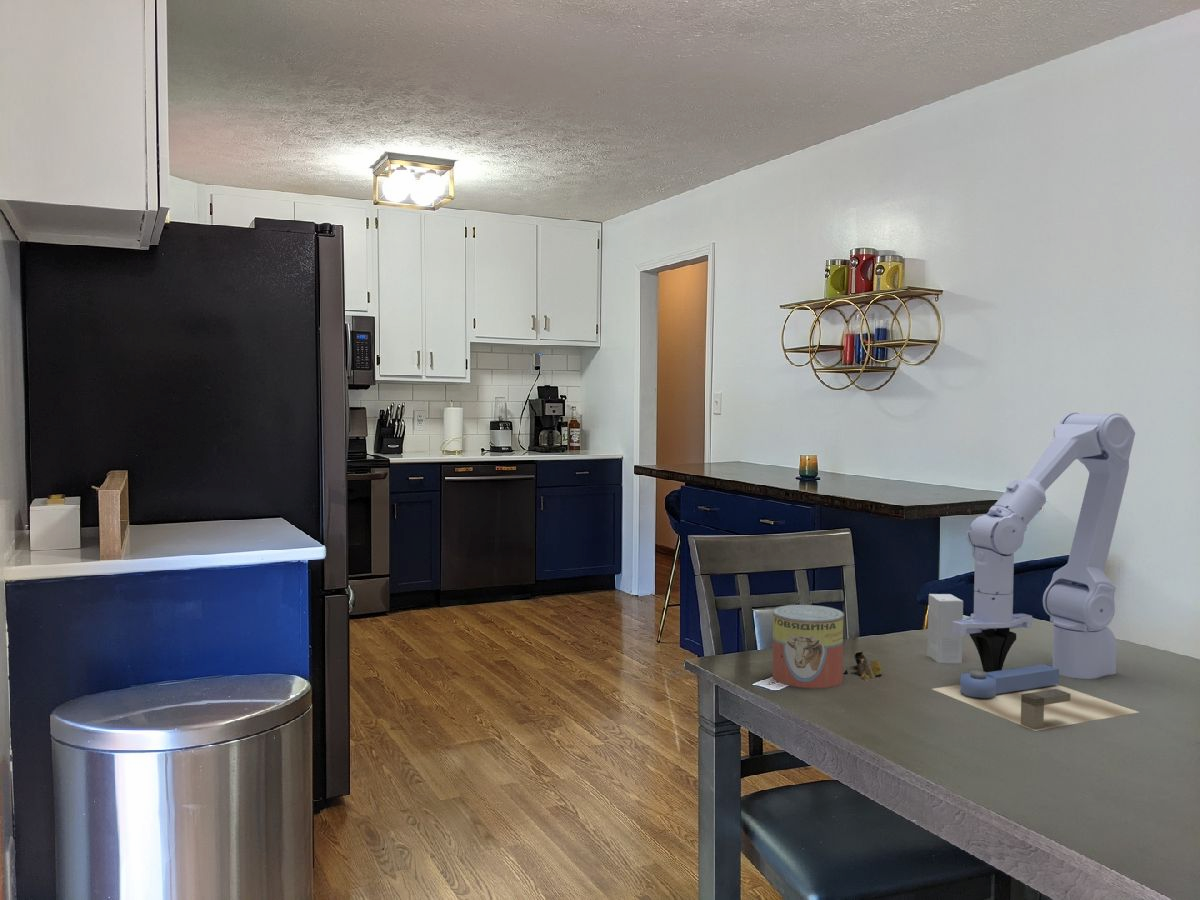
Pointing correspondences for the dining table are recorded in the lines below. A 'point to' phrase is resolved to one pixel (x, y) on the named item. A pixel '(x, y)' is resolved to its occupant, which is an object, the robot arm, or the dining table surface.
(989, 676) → the link
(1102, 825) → the dining table surface
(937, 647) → the skincare box
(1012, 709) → the board
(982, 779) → the dining table surface
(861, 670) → the regulator
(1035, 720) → the keeper
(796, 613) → the canned food
